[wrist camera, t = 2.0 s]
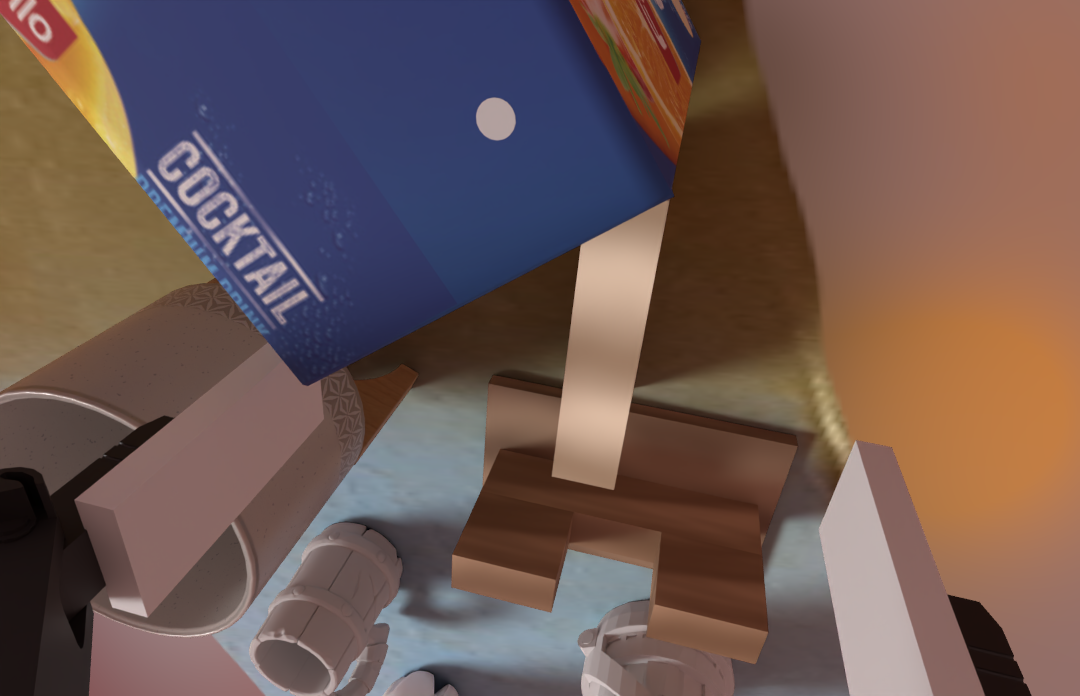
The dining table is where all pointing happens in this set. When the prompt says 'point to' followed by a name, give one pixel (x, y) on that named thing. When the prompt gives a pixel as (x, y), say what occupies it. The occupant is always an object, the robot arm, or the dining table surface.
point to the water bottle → (418, 686)
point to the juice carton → (376, 142)
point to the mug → (331, 615)
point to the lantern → (647, 661)
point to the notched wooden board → (606, 347)
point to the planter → (167, 390)
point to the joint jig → (631, 516)
